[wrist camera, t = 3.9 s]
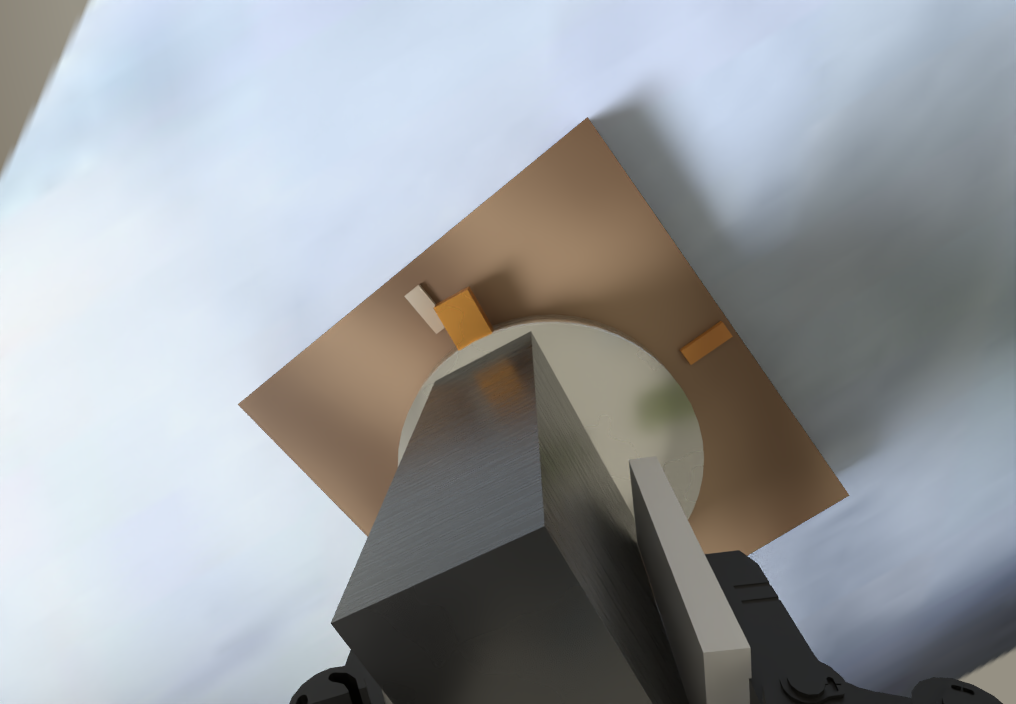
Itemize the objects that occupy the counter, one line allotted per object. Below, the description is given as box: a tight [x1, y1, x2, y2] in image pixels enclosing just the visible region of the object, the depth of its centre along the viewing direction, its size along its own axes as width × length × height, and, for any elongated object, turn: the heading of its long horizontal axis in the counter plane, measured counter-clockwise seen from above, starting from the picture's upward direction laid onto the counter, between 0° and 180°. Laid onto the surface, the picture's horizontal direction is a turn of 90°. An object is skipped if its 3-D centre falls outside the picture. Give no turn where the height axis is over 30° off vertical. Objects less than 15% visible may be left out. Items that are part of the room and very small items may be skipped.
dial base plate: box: [238, 117, 849, 556], centre depth 21 cm, size 15×16×2 cm
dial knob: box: [331, 286, 704, 704], centre depth 14 cm, size 10×12×11 cm
